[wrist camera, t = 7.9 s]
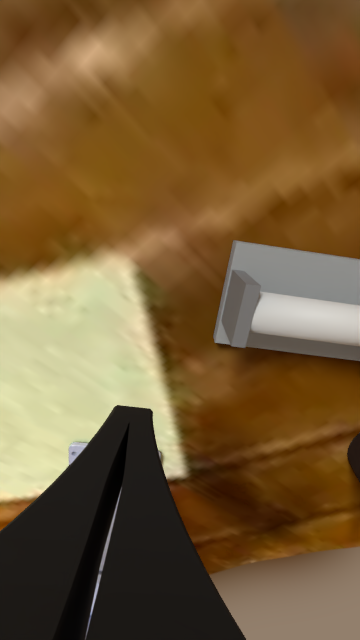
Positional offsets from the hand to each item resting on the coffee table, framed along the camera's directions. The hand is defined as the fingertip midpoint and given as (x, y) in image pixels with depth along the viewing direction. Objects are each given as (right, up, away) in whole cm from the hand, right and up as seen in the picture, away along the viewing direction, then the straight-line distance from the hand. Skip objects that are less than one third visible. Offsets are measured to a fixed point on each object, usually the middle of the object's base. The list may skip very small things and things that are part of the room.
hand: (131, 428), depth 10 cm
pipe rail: (+13, +5, +9) cm, 17 cm away
